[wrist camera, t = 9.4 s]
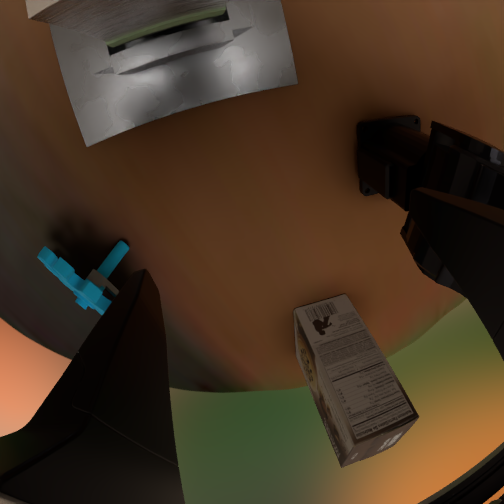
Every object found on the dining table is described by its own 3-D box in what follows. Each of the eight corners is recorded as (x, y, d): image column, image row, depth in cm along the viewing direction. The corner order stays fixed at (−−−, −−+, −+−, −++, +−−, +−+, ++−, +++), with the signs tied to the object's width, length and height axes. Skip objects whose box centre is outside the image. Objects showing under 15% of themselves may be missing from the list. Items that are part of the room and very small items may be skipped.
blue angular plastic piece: (20, 250, 18) (56, 283, 13) (64, 197, 21) (121, 201, 16) (100, 322, 26) (165, 366, 21) (132, 276, 29) (203, 303, 23)
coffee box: (341, 340, 36) (394, 446, 24) (294, 355, 36) (339, 470, 23) (347, 291, 31) (423, 416, 18) (291, 307, 30) (353, 450, 18)
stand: (249, -81, 9) (276, -124, 4) (290, 82, 18) (335, 91, 13) (48, -23, 9) (5, -45, 3) (93, 141, 17) (58, 174, 12)
